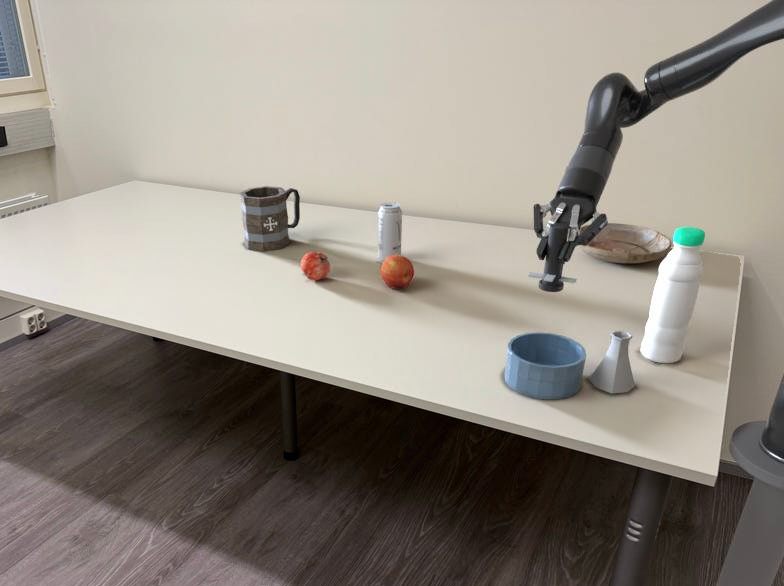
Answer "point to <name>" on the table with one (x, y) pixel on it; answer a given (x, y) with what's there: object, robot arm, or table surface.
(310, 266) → the pomegranate
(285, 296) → the table surface
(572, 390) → the processor bowl
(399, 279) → the apple
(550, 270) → the chopping blade
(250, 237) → the mug
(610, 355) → the flask
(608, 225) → the ceramic bowl
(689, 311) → the water bottle
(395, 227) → the energy drink can
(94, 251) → the table surface
